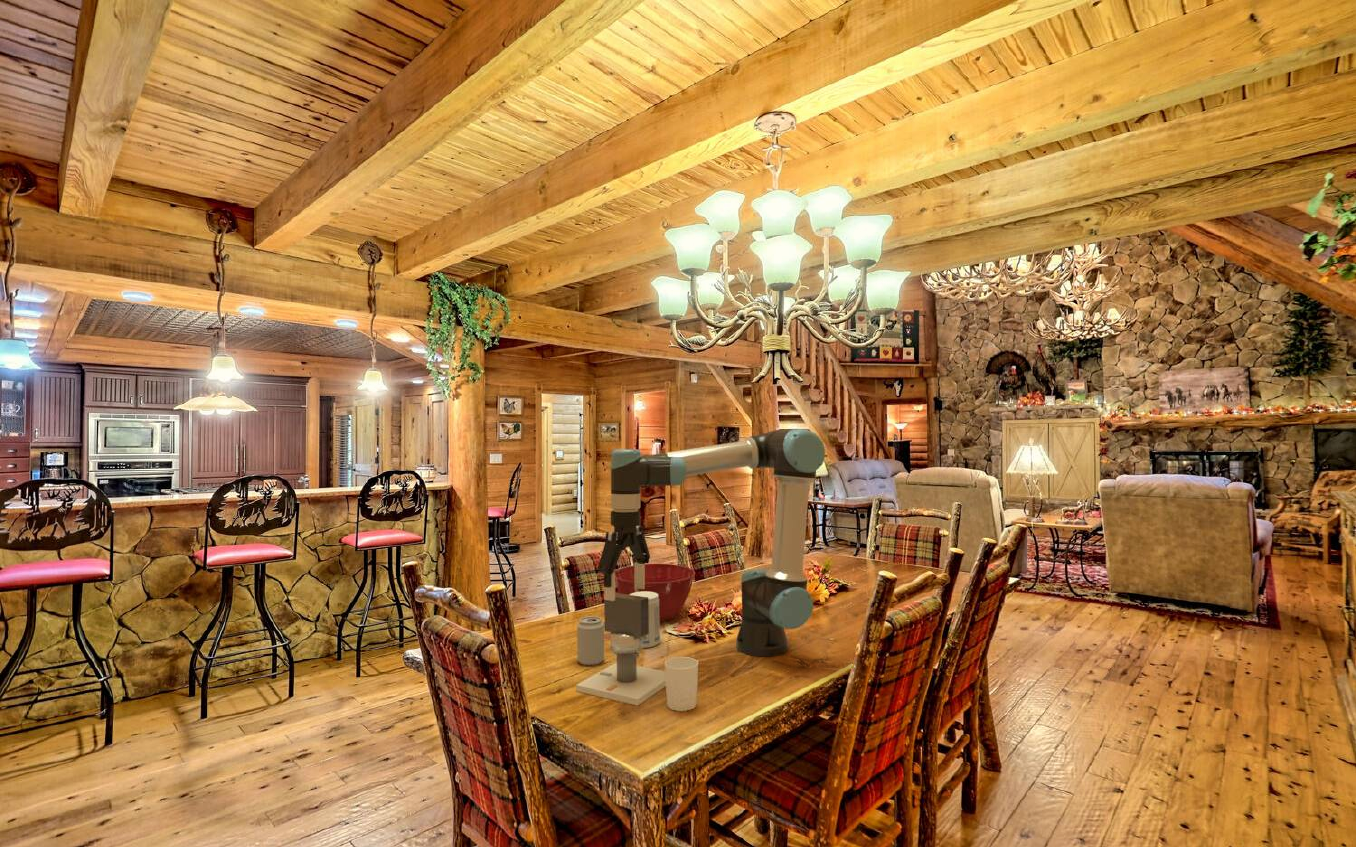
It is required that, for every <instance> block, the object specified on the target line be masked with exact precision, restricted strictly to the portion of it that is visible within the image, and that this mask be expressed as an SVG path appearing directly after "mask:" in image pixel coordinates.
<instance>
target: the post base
mask: <svg viewBox="0 0 1356 847" xmlns="http://www.w3.org/2000/svg"><path fill="white" fill-rule="evenodd" d="M613 654H614V655H616V662H614V663H613V664H611V665H609V666H607V667H606V668H604V669H602V670H600V671H599V672H597V673H595V674H593V675H592V676H589V677H588V678H586V679H584V680H582V681H581V682H579V683H577V684H575V685H576V686H575V688H576V689H575V692H578V693H582V694H586V695H591V696H595V697H599V698H603V699H608V700H613V701H616V702H620V703H625V704H629V705H633V706H636V707H638V706H640V705H641V704H642V703H644V702H646V701H647V700H648V699H649V698H651V697H652V696H654V695H655V694H656V693H658V692H659V691H661V690H662V689H664V688H666V683H665V670H661V669H655V668H650V667H644V666H640V665H638V664H637V662H638V660H637V659H638V658H640V652H635V653H628V654H622V653H616V652H613Z"/></svg>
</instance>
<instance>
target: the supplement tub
mask: <svg viewBox="0 0 1356 847" xmlns="http://www.w3.org/2000/svg"><path fill="white" fill-rule="evenodd" d="M630 595H634V596H641V597H648V599H649V634H647V635H645V636H643V637H642V649H647V648H648V649H649V648H653V647H655V646H657V645H658V644H659V643H660V641H661V636H660V635H661V632H660V631H661V630H660V627H661V626H660V622H661V621H660V618H659V595H658V594H657V593H655V592H648V591H642V592H635V593H631V594H630Z"/></svg>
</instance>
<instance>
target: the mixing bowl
mask: <svg viewBox="0 0 1356 847" xmlns="http://www.w3.org/2000/svg"><path fill="white" fill-rule="evenodd" d="M613 573H615V586H616V588H617V591H618V592H617V593H620V594H627V595H630V594H631V593H635V592H642V591H648V592H655V593H657V594H658V595H659V618H660V622H665V621H668V620H669V621H670V620H671V619H673V618H674V617H675V616H677V615H678V614H679V613H681V611H682V610H683V607H684V606H685V604H686V602H687V599H688V597H689V596H690V595H689V594H690V591H691V588H692V585H693V582H694V576H695V575H696V572H695V570H694V569H692V568H691V567H688V566H684V565H679V564H670V563H645V589H638V588H634V578H635V564H634V565H628V566H625V567H621V568H619V569H617V570H614V571H613Z"/></svg>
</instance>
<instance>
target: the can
mask: <svg viewBox="0 0 1356 847" xmlns="http://www.w3.org/2000/svg"><path fill="white" fill-rule="evenodd" d="M602 620H603V619H602V617H600V616H595V615H594V616H592V615H590V616H584V617H581V618H580V619H579V622H578V623H577V625H576V627H577V628H576V630H577V632H576V638H577V639H576V641H577V642H576V643H577V645H576V648H577V651H576V653H577V654H576V655H577V656H576V658H577V659H576V660H577V662H579V663H580V665H582V664H583V665H582V666H586V665H588V666H589V667H591V666H590V665H593V666H597V665H599V664H601V663H602V662H603V661H604V660H605V639H604V635H605V622H603V621H602Z"/></svg>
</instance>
